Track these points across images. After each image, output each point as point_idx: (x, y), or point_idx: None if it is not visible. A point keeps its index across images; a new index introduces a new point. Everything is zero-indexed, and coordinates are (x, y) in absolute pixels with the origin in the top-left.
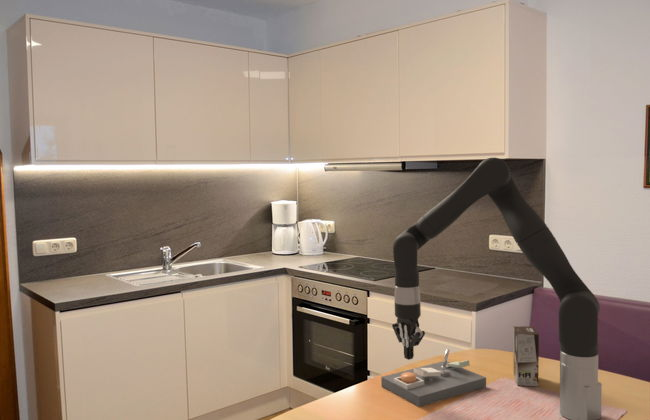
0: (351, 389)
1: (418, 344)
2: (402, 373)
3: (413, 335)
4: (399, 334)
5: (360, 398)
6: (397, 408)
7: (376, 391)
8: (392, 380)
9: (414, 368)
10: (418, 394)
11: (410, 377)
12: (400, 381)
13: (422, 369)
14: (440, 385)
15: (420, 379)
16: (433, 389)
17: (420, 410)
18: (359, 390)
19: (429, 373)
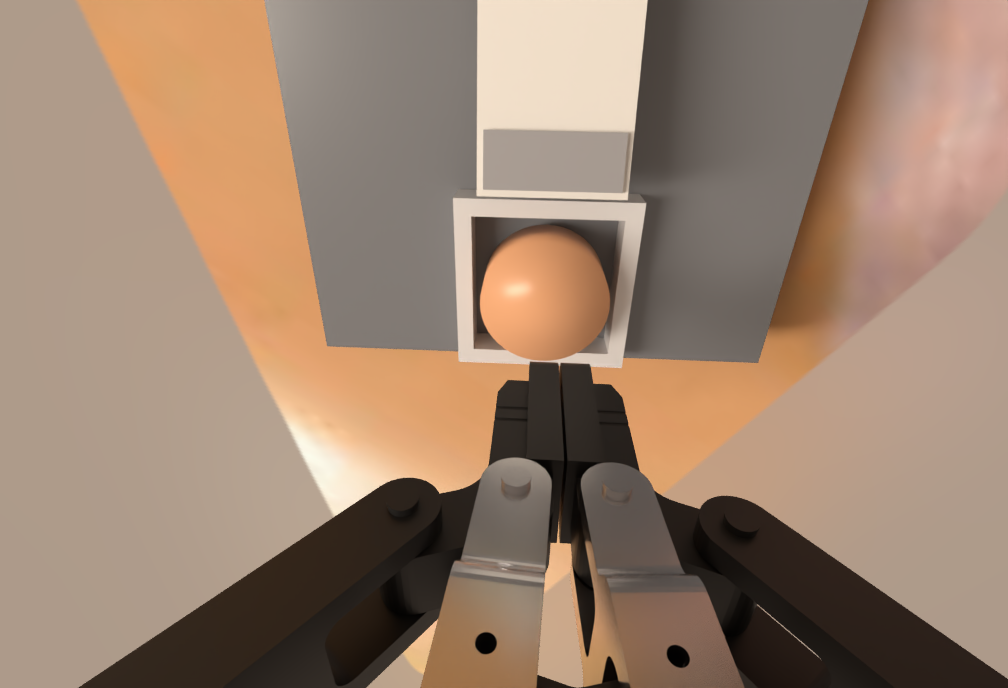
0: (316, 454)
1: (774, 520)
2: (486, 323)
3: (670, 658)
4: (356, 680)
5: (442, 479)
6: (655, 421)
7: (404, 378)
8: (425, 328)
9: (485, 195)
10: (731, 345)
11: (596, 328)
12: (538, 361)
13: (551, 138)
14: (752, 79)
15: (606, 212)
16: (758, 198)
17: (766, 350)
18: (347, 434)
19: (635, 109)
